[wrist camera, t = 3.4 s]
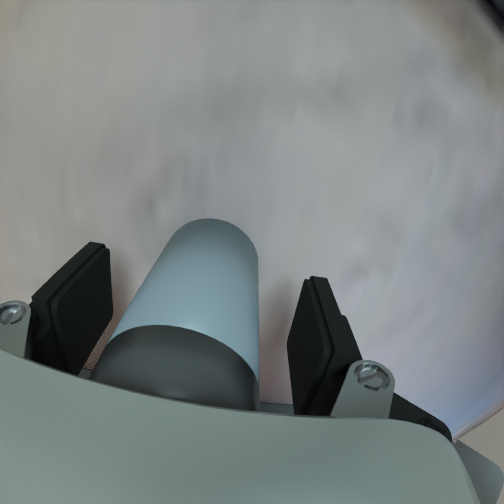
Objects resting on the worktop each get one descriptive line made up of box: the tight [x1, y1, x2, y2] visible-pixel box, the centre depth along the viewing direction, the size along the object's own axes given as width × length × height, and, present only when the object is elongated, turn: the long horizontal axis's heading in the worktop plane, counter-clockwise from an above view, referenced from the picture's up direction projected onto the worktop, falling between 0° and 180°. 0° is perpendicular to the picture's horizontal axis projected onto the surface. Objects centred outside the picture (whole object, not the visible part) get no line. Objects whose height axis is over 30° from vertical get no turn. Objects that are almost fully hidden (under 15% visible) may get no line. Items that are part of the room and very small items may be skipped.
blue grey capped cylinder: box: [89, 219, 259, 412], centre depth 9 cm, size 4×4×9 cm
